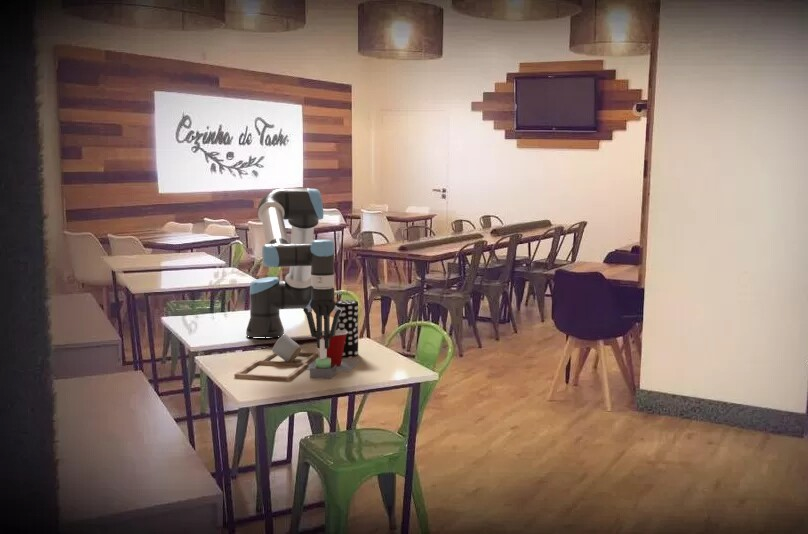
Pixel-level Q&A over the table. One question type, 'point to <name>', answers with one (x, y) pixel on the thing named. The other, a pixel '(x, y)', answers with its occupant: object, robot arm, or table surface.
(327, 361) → the button
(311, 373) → the button base
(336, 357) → the plastic cup
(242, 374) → the wooden rectangular frame
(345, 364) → the mat
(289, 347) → the ceramic mug
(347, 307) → the white-spotted black cylinder
